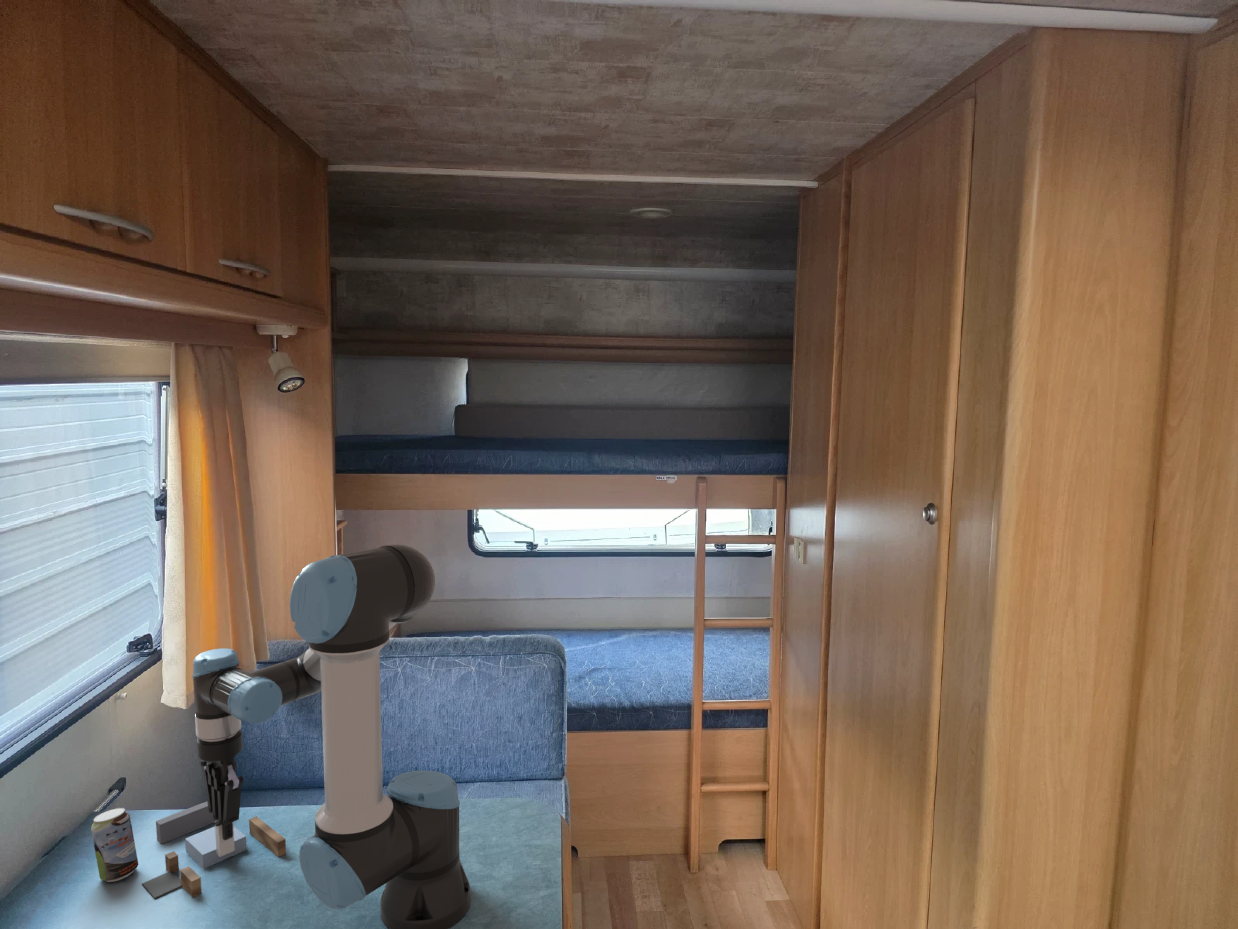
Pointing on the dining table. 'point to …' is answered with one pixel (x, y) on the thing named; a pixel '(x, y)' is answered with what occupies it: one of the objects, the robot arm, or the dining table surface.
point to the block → (211, 847)
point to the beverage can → (114, 845)
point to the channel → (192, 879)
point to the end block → (183, 822)
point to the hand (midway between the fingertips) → (225, 852)
